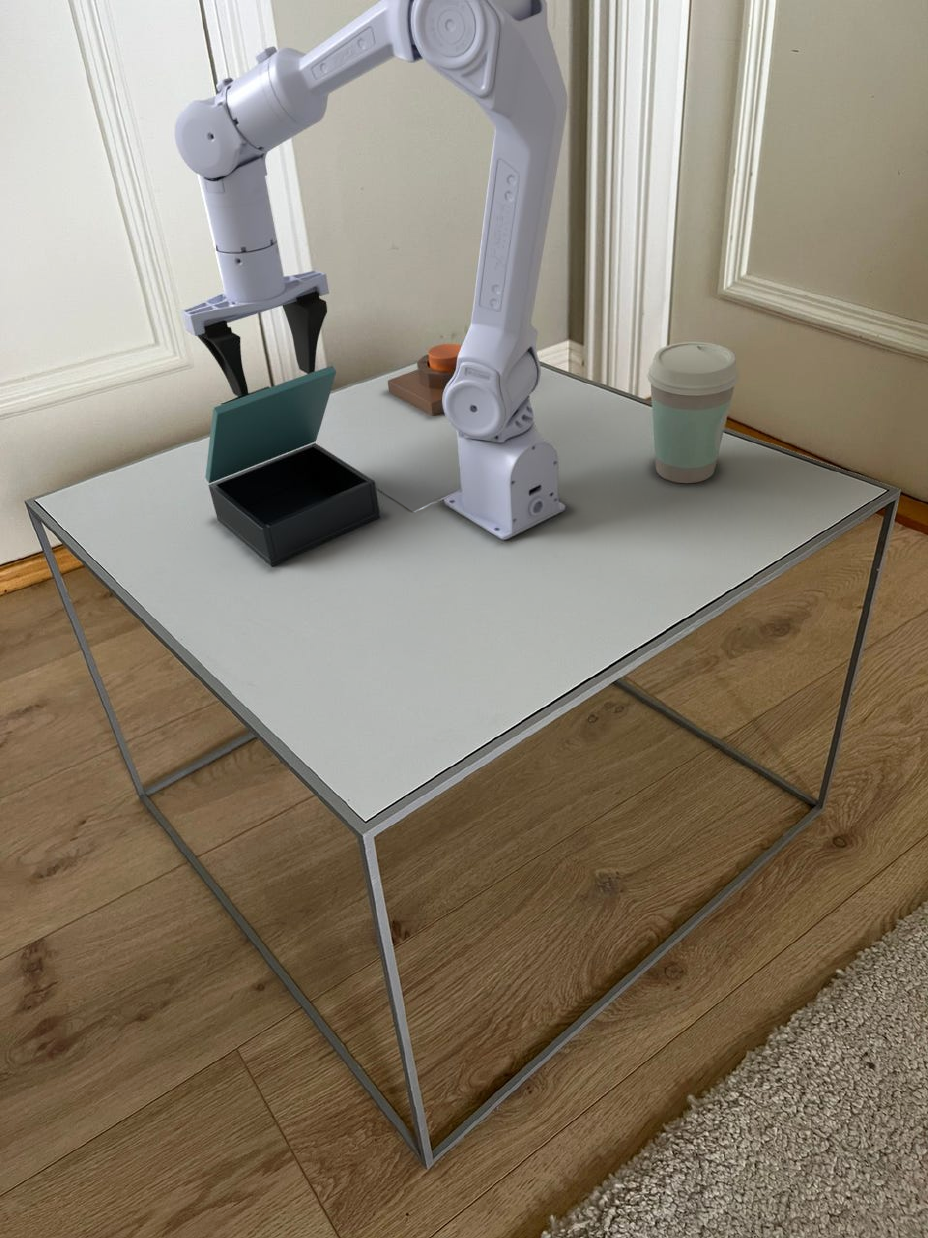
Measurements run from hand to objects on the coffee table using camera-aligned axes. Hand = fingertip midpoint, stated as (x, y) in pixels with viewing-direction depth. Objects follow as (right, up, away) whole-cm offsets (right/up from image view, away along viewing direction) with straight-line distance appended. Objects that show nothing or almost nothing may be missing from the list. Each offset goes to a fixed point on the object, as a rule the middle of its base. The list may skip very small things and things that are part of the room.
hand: (274, 383), depth 95 cm
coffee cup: (+42, -9, +2) cm, 43 cm away
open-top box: (+3, -14, -1) cm, 14 cm away
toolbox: (+1, -6, -6) cm, 8 cm away
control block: (+17, +4, +20) cm, 27 cm away
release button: (+17, +7, +18) cm, 26 cm away
